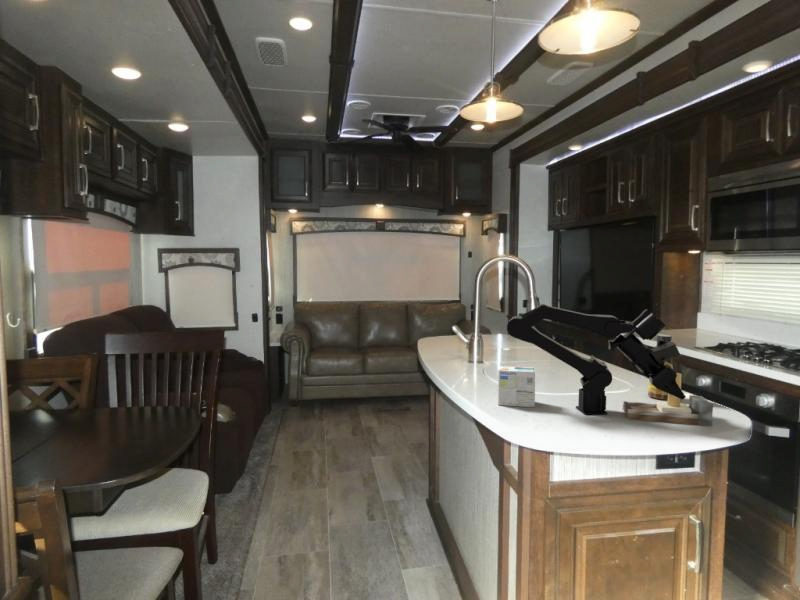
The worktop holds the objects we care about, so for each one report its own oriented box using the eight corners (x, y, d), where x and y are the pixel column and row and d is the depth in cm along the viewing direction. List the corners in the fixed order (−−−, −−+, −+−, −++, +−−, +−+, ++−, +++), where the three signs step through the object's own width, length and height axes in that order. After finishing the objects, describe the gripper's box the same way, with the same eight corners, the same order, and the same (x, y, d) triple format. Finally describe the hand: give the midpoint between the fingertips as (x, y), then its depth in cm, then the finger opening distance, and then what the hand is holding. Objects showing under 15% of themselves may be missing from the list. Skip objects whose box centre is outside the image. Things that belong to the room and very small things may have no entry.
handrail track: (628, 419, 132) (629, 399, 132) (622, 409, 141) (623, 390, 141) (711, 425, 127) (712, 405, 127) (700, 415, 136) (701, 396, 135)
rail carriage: (661, 414, 131) (663, 375, 131) (656, 407, 137) (658, 370, 136) (691, 416, 130) (693, 377, 129) (684, 409, 135) (686, 372, 134)
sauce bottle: (647, 398, 152) (650, 335, 150) (648, 393, 157) (650, 332, 156) (671, 401, 149) (674, 337, 147) (671, 396, 154) (674, 334, 153)
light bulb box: (533, 401, 149) (534, 366, 148) (535, 408, 142) (536, 371, 141) (498, 399, 151) (498, 365, 150) (497, 405, 144) (498, 369, 144)
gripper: (668, 337, 124) (716, 382, 122) (652, 327, 142) (693, 366, 140) (633, 366, 127) (679, 411, 124) (621, 352, 144) (661, 392, 142)
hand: (679, 393), depth 133 cm, fingers open, 9 cm apart
